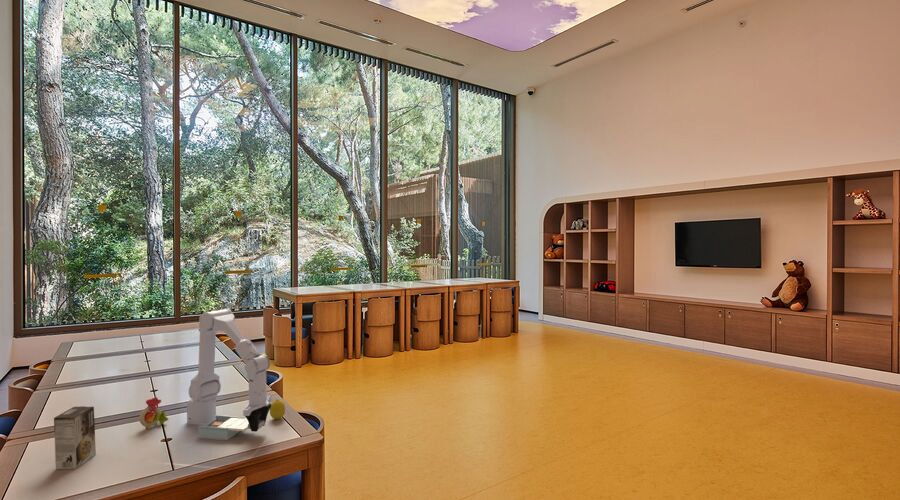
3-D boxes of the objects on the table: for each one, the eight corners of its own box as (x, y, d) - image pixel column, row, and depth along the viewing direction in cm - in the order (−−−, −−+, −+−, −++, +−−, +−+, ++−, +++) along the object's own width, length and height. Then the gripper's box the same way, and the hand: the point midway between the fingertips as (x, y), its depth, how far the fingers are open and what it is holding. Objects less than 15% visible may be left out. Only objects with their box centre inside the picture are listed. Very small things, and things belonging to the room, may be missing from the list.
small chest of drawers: (216, 429, 165) (216, 424, 165) (231, 419, 173) (231, 415, 173) (254, 432, 163) (254, 427, 163) (267, 422, 171) (267, 417, 171)
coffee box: (75, 455, 153) (73, 406, 152) (96, 454, 154) (95, 405, 153) (54, 469, 144) (52, 417, 143) (76, 469, 144) (75, 416, 144)
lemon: (280, 423, 179) (279, 402, 179) (266, 422, 180) (266, 401, 180) (287, 417, 184) (287, 397, 184) (274, 416, 185) (274, 396, 185)
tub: (198, 439, 165) (198, 426, 165) (216, 427, 175) (216, 415, 175) (227, 441, 164) (227, 428, 163) (244, 429, 173) (244, 417, 173)
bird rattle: (154, 435, 173) (174, 417, 180) (141, 412, 168) (163, 394, 176) (142, 432, 175) (162, 415, 182) (129, 410, 170) (150, 392, 178)
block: (211, 431, 170) (211, 425, 170) (215, 428, 173) (215, 421, 173) (219, 431, 170) (219, 425, 170) (223, 428, 173) (223, 421, 173)
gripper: (256, 398, 159) (257, 438, 159) (278, 384, 173) (279, 420, 174) (237, 396, 160) (237, 436, 160) (260, 383, 174) (261, 419, 175)
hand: (258, 428), depth 167 cm, fingers closed on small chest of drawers, 4 cm apart
